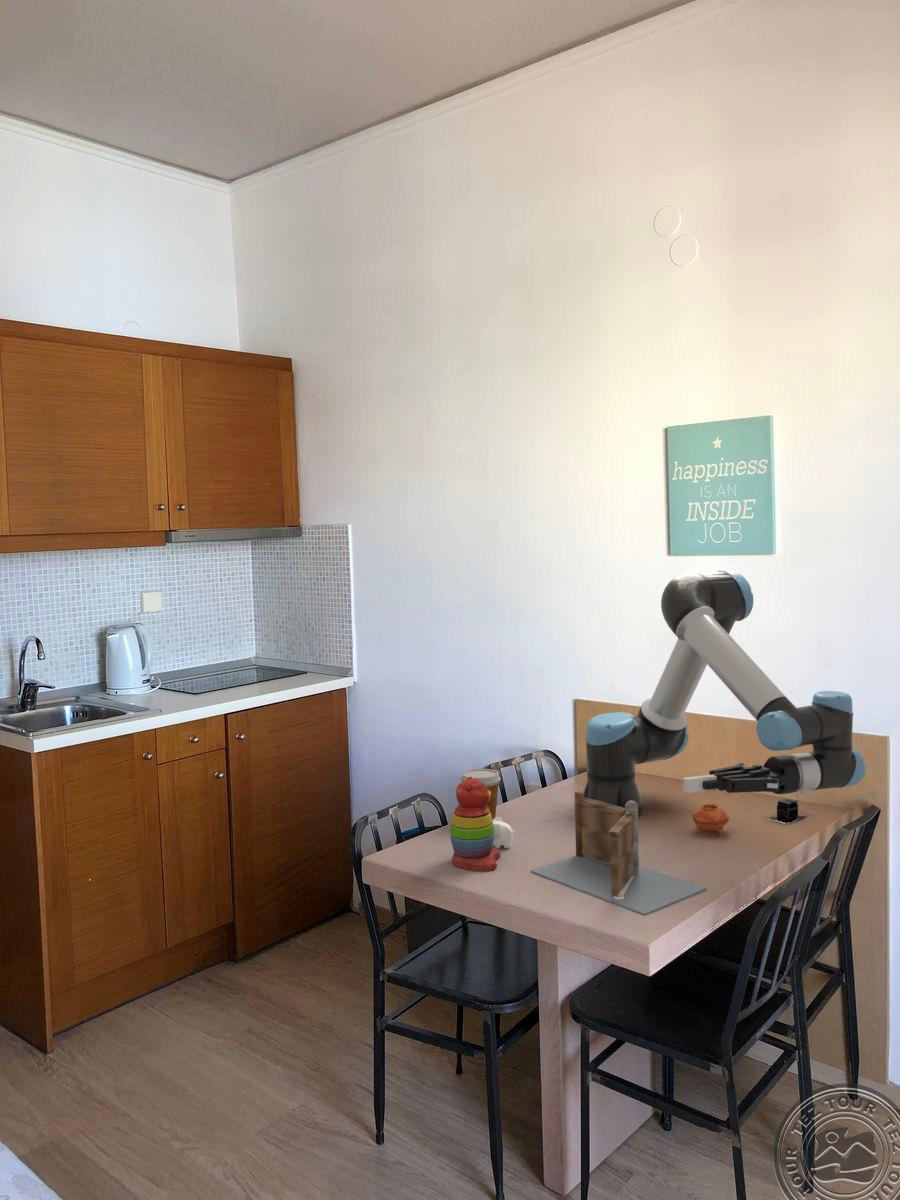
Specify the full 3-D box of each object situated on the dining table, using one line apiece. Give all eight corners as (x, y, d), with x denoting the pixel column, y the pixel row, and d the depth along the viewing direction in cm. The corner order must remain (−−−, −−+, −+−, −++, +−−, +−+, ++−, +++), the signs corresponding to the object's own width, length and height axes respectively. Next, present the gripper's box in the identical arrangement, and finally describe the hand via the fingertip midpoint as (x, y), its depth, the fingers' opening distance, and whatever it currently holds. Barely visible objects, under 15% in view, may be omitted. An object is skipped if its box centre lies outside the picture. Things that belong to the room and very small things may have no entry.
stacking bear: (495, 872, 201) (493, 786, 200) (446, 870, 203) (444, 786, 202) (501, 854, 212) (499, 773, 211) (455, 852, 214) (453, 772, 212)
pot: (738, 830, 222) (734, 803, 220) (714, 845, 218) (710, 818, 216) (711, 821, 228) (707, 794, 227) (688, 835, 224) (683, 808, 223)
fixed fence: (572, 856, 209) (571, 787, 208) (581, 853, 210) (580, 784, 209) (633, 877, 196) (632, 803, 195) (642, 874, 197) (640, 800, 196)
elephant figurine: (482, 841, 221) (481, 815, 220) (517, 841, 220) (517, 815, 220) (481, 852, 214) (480, 825, 213) (518, 851, 213) (517, 824, 213)
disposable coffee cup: (470, 815, 240) (468, 767, 239) (507, 818, 237) (505, 769, 236) (455, 827, 232) (454, 777, 231) (493, 830, 228) (492, 779, 227)
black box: (784, 829, 224) (784, 809, 224) (757, 821, 230) (757, 802, 230) (816, 818, 232) (816, 799, 231) (789, 811, 238) (789, 792, 237)
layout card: (530, 871, 201) (530, 870, 201) (591, 851, 212) (591, 849, 212) (644, 915, 177) (644, 913, 177) (706, 889, 188) (706, 887, 188)
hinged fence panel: (626, 872, 196) (625, 813, 196) (635, 873, 196) (634, 814, 195) (609, 893, 186) (608, 831, 185) (619, 894, 185) (617, 832, 184)
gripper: (810, 801, 191) (702, 814, 185) (771, 783, 204) (668, 795, 197) (811, 763, 190) (702, 775, 184) (771, 747, 203) (668, 758, 196)
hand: (685, 785), depth 190 cm, fingers closed
